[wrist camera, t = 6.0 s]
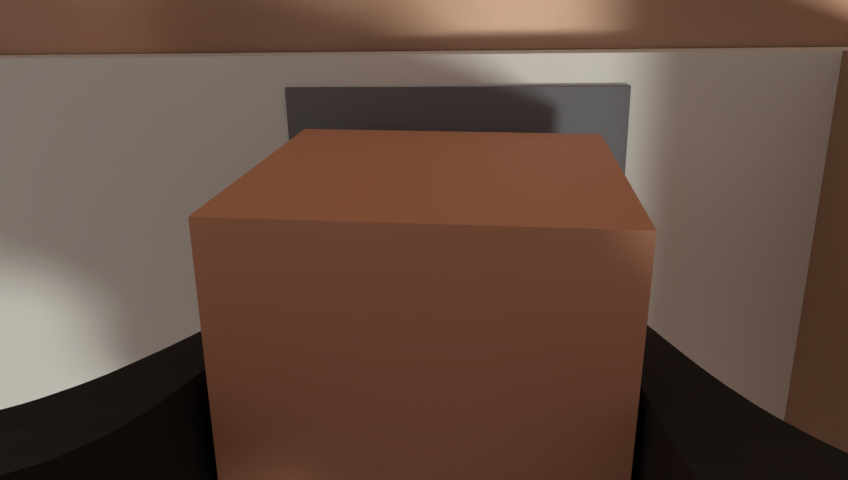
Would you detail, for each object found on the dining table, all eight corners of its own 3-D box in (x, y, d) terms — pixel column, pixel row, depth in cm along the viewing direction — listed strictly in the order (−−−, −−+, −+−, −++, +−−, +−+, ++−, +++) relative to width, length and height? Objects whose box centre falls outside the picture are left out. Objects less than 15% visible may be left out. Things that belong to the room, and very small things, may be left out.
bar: (305, 128, 12) (188, 216, 7) (600, 133, 11) (656, 230, 7) (325, 503, 14) (246, 731, 10) (572, 520, 13) (600, 768, 9)
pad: (600, 510, 14) (601, 513, 14) (319, 493, 15) (317, 496, 15) (630, 85, 12) (630, 85, 12) (286, 87, 12) (284, 88, 12)
